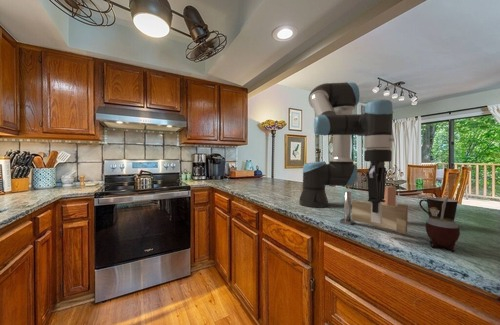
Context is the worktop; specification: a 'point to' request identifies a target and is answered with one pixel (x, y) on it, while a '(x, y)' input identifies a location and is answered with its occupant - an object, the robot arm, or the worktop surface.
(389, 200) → the post
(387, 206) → the gate
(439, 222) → the mate gourd
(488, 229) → the worktop surface
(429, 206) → the coffee mug
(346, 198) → the hinge post
